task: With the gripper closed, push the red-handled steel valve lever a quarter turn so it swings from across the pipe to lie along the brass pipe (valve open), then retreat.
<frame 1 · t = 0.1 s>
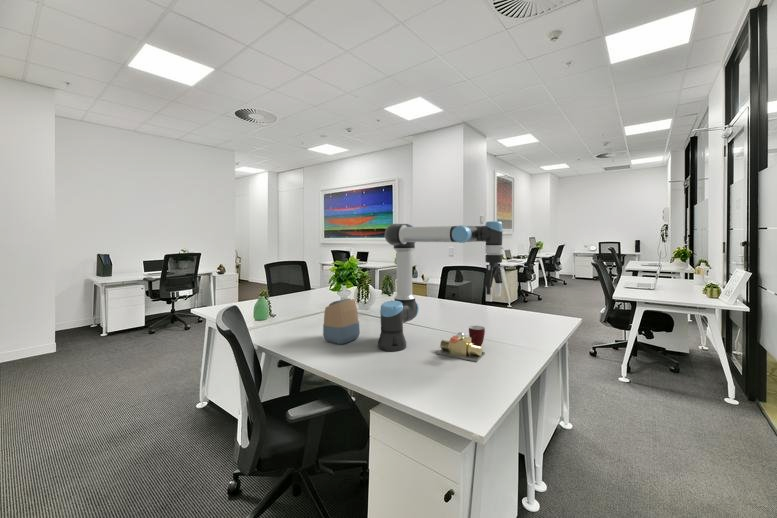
hand: (493, 298, 162), 28 cm above the table, fingers open, 13 cm apart
lever: (457, 337, 163), point 9 cm above the table, hinge at 0.0°
valve block: (460, 354, 167), on the table
mug: (476, 347, 177), on the table
two-tone tapered canister: (341, 340, 192), on the table
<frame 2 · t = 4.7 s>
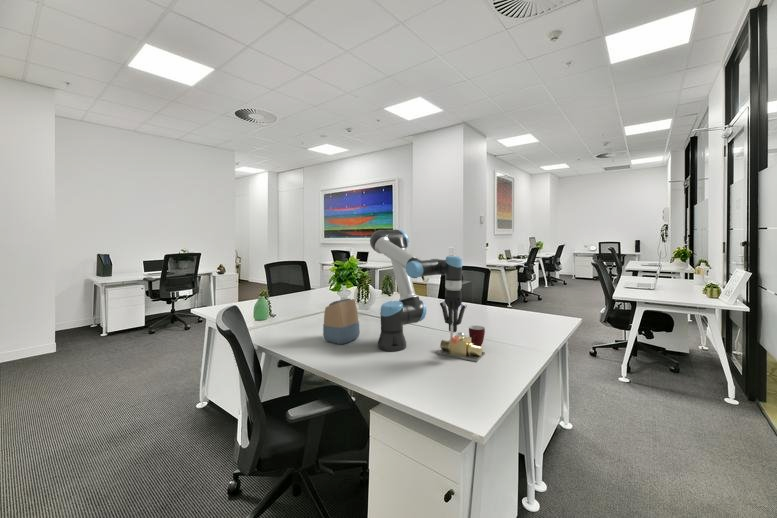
hand: (452, 338, 161), 10 cm above the table, fingers closed
lever: (458, 338, 163), point 9 cm above the table, hinge at 3.3°, touching gripper
everything else where it was.
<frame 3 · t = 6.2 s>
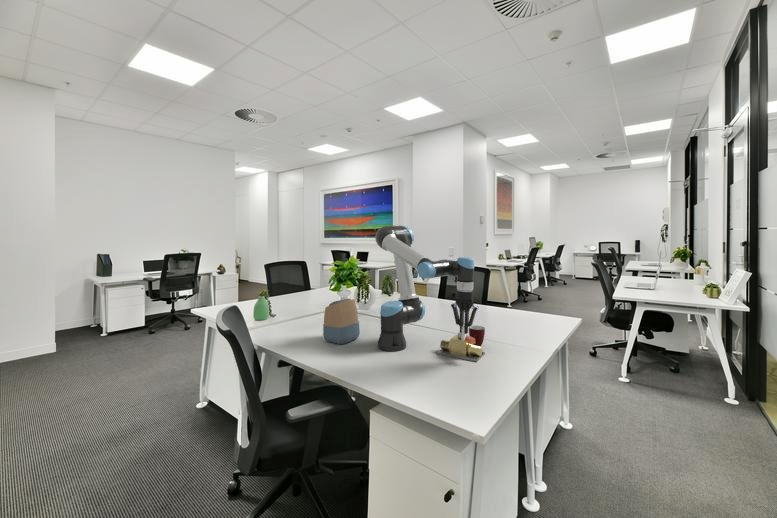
hand: (463, 340, 160), 9 cm above the table, fingers closed
lever: (465, 338, 162), point 9 cm above the table, hinge at 52.6°, touching gripper
everything else where it was.
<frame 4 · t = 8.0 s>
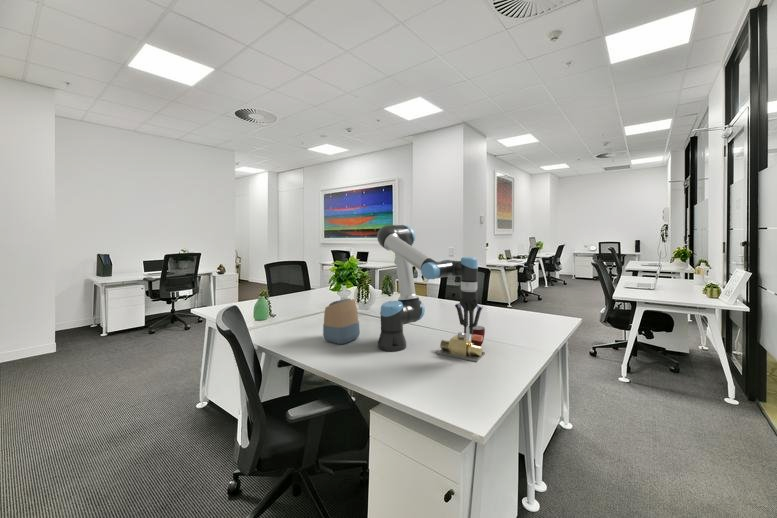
hand: (468, 340, 159), 9 cm above the table, fingers closed
lever: (469, 336, 164), point 9 cm above the table, hinge at 89.6°
everything else where it was.
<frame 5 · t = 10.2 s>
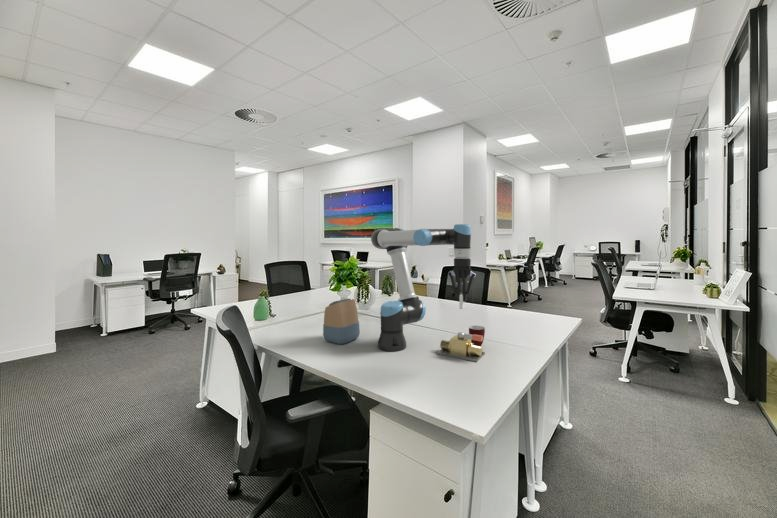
hand: (462, 308, 158), 24 cm above the table, fingers closed
nothing on the table moved.
at the end: lever at +90° (first picture: +0°) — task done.
